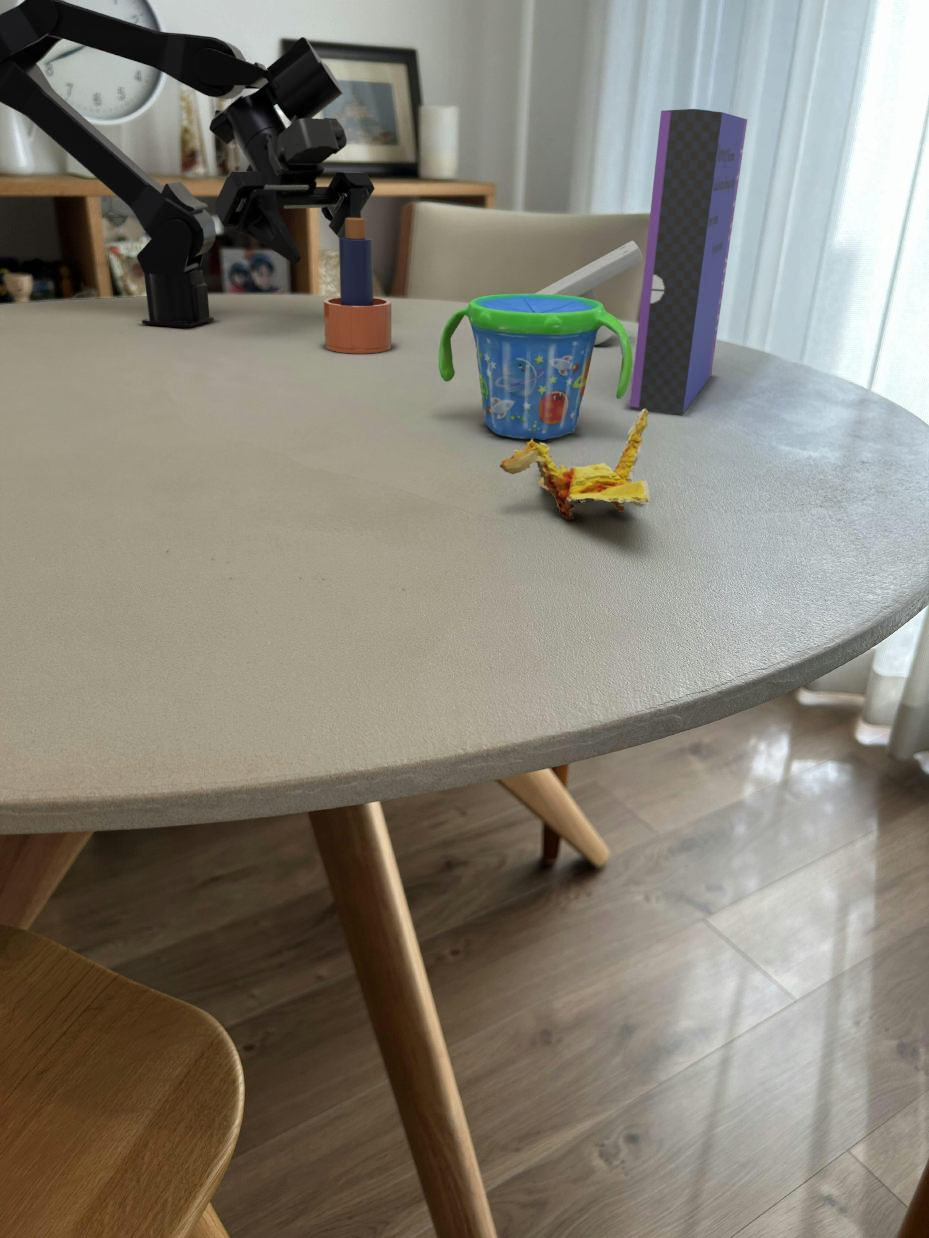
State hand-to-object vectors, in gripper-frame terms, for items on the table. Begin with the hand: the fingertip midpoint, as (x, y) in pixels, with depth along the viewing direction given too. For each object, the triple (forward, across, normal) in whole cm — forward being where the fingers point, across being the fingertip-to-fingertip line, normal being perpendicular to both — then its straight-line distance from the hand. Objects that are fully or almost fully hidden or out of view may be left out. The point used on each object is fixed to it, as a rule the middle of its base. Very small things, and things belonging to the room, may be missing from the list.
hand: (331, 259), depth 107 cm
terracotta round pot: (+9, 0, +3) cm, 10 cm away
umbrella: (+9, 0, +3) cm, 10 cm away
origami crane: (+46, -23, -33) cm, 61 cm away
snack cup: (+35, -11, -22) cm, 42 cm away
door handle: (+16, +24, -3) cm, 29 cm away
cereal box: (+34, +10, -22) cm, 42 cm away
